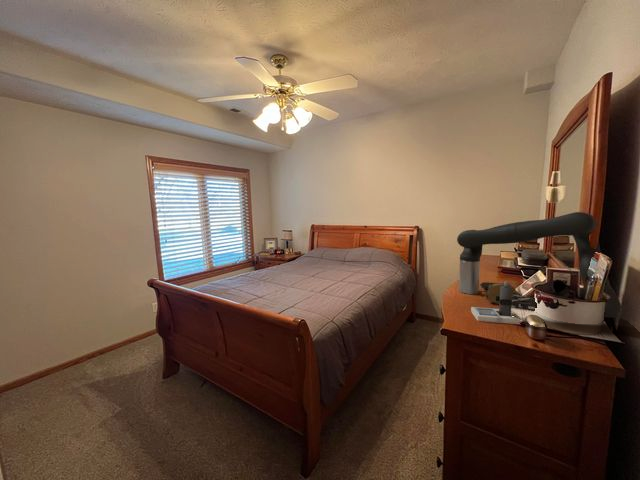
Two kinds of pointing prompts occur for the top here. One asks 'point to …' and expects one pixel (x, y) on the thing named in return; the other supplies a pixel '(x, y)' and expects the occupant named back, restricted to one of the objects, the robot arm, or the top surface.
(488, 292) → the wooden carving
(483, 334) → the top surface
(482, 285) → the carrying case or bag
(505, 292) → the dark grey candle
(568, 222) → the robot arm
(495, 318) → the duct plate
